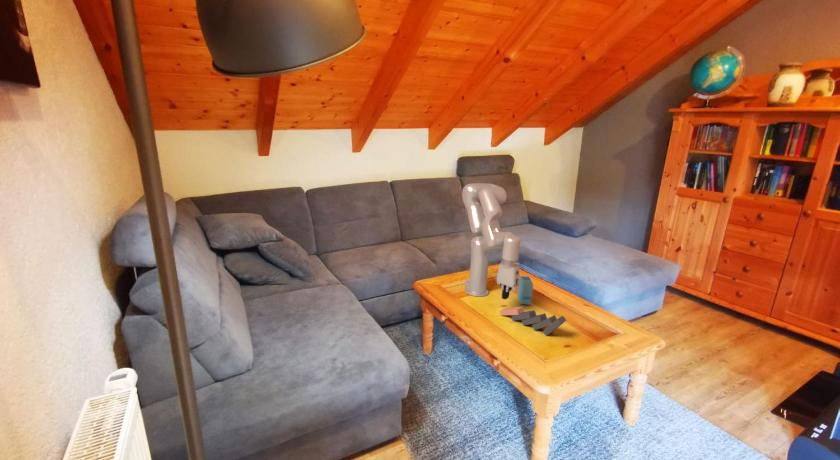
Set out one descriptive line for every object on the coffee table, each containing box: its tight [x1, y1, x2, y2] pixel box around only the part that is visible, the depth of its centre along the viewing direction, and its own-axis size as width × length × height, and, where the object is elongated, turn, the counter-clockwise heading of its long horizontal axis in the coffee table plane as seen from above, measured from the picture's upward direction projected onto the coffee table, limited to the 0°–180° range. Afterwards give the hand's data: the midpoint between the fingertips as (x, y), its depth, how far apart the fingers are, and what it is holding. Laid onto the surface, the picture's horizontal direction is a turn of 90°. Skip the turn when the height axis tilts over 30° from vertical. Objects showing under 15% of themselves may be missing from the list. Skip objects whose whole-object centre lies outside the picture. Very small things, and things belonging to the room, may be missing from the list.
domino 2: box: [510, 309, 537, 322], centre depth 186 cm, size 2×5×10 cm
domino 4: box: [531, 314, 558, 331], centre depth 178 cm, size 2×5×10 cm
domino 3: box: [521, 313, 548, 326], centre depth 182 cm, size 2×5×10 cm
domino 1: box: [499, 306, 525, 316], centre depth 190 cm, size 2×5×10 cm
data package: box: [517, 275, 534, 306], centre depth 210 cm, size 12×4×12 cm, turn 177°
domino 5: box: [542, 315, 567, 336], centre depth 175 cm, size 2×5×10 cm
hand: (505, 298), depth 192 cm, fingers closed
